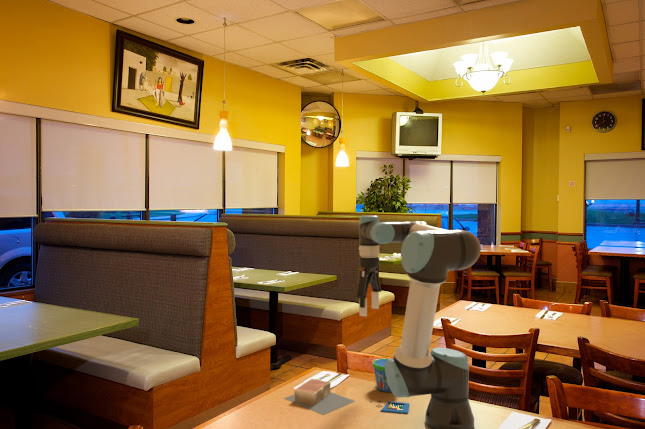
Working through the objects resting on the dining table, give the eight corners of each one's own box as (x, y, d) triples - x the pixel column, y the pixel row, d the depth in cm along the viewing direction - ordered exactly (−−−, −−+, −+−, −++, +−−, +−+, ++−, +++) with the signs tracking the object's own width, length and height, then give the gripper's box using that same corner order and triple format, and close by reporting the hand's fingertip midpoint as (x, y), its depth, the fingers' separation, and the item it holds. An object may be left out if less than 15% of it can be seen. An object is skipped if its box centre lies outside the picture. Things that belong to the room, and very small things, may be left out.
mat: (355, 402, 178) (355, 401, 178) (323, 416, 166) (323, 415, 166) (315, 388, 192) (315, 386, 192) (283, 400, 180) (283, 398, 180)
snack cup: (370, 381, 198) (370, 356, 198) (397, 381, 198) (397, 355, 198) (375, 397, 182) (375, 369, 182) (404, 397, 183) (404, 369, 182)
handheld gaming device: (367, 398, 180) (409, 402, 176) (367, 401, 180) (409, 405, 176) (363, 407, 172) (407, 411, 168) (363, 410, 172) (407, 415, 168)
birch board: (311, 378, 189) (294, 389, 178) (330, 382, 185) (314, 393, 174) (311, 389, 189) (294, 400, 178) (330, 393, 185) (314, 405, 174)
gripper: (370, 252, 204) (371, 305, 205) (347, 259, 181) (347, 318, 182) (388, 253, 201) (388, 306, 201) (367, 260, 178) (367, 320, 179)
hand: (369, 312), depth 192 cm, fingers open, 13 cm apart
